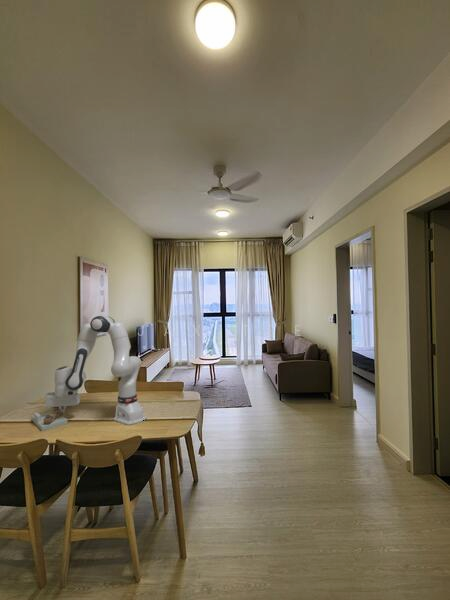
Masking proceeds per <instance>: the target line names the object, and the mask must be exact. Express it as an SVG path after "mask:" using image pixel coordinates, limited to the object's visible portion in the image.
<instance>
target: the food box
mask: <svg viewBox="0 0 450 600" xmlns="http://www.w3.org/2000/svg"><path fill="white" fill-rule="evenodd" d="M53 411H54V410H51V411H47V412H44V413H38V412H35V413H34V414H33V415H32V416H31V421H32V422H33V423H34V424H35V425H36V426H37V428H38V429H39V430H40V431H41V432H44V431H49V430H51V429H54V428H58V427H62V426H65V425H68V424H69V423H68V421H69V420H68V418H66V417H64V416H63V414H62V415H60V416H59V417H58V418H57V419H55V420H54V421H53V422H52V423H51V424H44V418H45V417H46V416H47V415H49V414H51V413H52V412H53Z"/></svg>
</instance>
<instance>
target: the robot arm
mask: <svg viewBox="0 0 450 600" xmlns="http://www.w3.org/2000/svg"><path fill="white" fill-rule="evenodd" d="M101 333H108V334H109V337H110V341H111V344H112V345H111V346H112V349H113V350H112V351H113V362H112V365H111V368H110V371H111V374H112V375H113V376H114V377H116V378H120V381H119V383H118V385H117V386H118V395H117V405H116V406H115V416H114V418H113V421H114V422H115V421H116V422H118V423H121V424H124V425H128V426H129V425H136V424H139V423H142V422H144V421H146V420H147V419H148V417H147V415H145V414H144V406H141V404H140V403H139V401H138V399H139V397H138V395H137V378H138V375H139V371H140V368H141V367H142V359H141V358H140V357H139V356H134V355H131V356H130V350H131V348H132V345H131V341H130V339H129V335H128V331H127V329H126V327H125V324H124V323H123V322H122V321H121V322H120V321H115V320H114V319H113V317H111V316H106V315H97V316H95V317H93V318H92V319H91V321H90V322H88V323H84V324H83V325H82V327H81V329H80V331H79V333H78V337H77V341H76V350H75V359H74V362H73V366H72V368H71V367H70V366H69V365H67V366H66V365H64V366H60V367H58V368H57V369H56V370H55V371H54V391H53V392H47V393H46V394H45V395H44V398H45V400H44V402H45V403H44V407H45V408H54V407H59V409H60V411H61V413H63V414H65V413H66V410H67V407H68V406H69V407H71V406H78V405H79V404H80V403H81V400H80V399H81V397H80V394H79V393H78V392H79V389H81V388H82V386H83V384H84V382H85V380H86V373H85V372H84V368H85V363H86V361H87V358H88V357H89V356H90V354H91V353H92V351H93V349H94V347H95V345H96V341H97V337H98V335H99V334H101ZM62 406H63V408H64V409H62V408H61V407H62ZM146 418H147V419H146ZM145 419H146V420H145ZM143 420H144V421H143Z"/></svg>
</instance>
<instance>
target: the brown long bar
mask: <svg viewBox="0 0 450 600" xmlns="http://www.w3.org/2000/svg"><path fill="white" fill-rule="evenodd" d="M62 409H64V408H62ZM52 411H53V412H52V413H51V414H49V415H47V416H46V417H45V418H44V424H51V423H52V422H53V421H54V420H55V419H57V418H58V417H59V416H60V415H62V416H63V414H64V413H61V411H60V409H59V408H55V410H52Z"/></svg>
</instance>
